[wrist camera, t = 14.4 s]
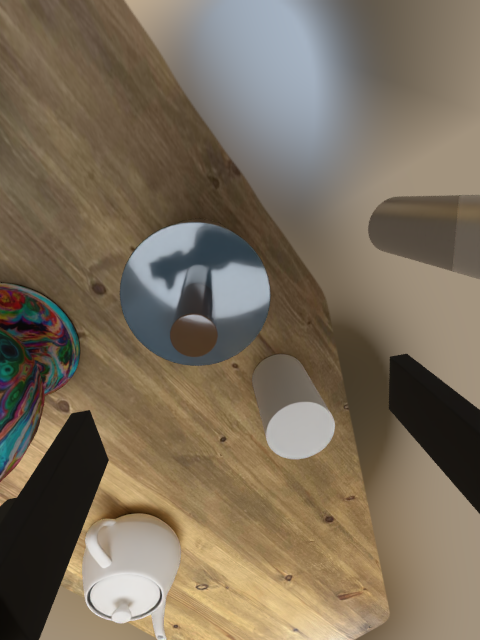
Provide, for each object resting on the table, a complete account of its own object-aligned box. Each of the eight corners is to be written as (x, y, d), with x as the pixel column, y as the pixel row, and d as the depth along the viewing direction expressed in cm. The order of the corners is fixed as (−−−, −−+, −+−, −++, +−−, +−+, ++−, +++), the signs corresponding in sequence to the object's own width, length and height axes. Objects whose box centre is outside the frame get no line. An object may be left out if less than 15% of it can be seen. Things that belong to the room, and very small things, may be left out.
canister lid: (258, 209, 27) (283, 213, 18) (275, 347, 31) (301, 402, 23) (104, 234, 26) (55, 251, 18) (144, 370, 31) (120, 436, 22)
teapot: (61, 507, 53) (21, 591, 42) (147, 474, 53) (131, 549, 41) (133, 592, 62) (117, 680, 51) (208, 564, 62) (208, 647, 50)
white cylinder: (260, 407, 50) (276, 467, 39) (245, 364, 47) (257, 415, 36) (310, 391, 50) (340, 446, 39) (298, 347, 47) (327, 392, 36)
